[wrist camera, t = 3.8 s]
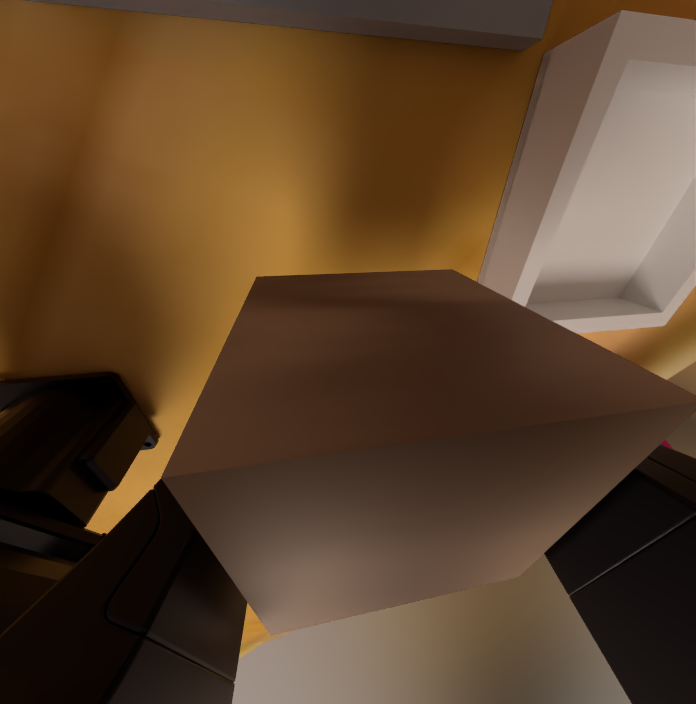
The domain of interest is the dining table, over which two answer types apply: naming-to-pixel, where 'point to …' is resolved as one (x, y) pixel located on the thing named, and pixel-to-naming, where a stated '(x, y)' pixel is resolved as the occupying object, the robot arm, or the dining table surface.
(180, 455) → the block
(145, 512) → the robot arm
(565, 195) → the tray
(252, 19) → the crank board
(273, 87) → the dining table surface
